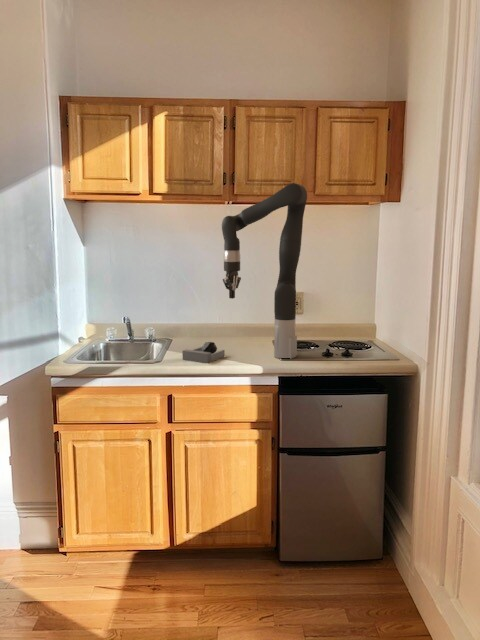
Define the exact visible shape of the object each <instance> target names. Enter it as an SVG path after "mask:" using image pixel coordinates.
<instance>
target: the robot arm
mask: <svg viewBox="0 0 480 640" xmlns="http://www.w3.org/2000/svg"><path fill="white" fill-rule="evenodd" d="M307 199H308V192H307V190H306V188H305V187H304V186H303V185H301V184H298V183H295V182H293V183H289V184H287V185H285V186H284V187H282V188H281V189H280V190H278V191H276V192H275V193H274V194H272V195H270V196H269V197H267V198H265V199H263V200H261V201H259V202H256V203H254V204H253V205H251V206H248V207H245V208H244V209H243V210H242V211H241V212H239V213H238V214H236V215H226V216H225V217H224V218H223V219H222V221H221V232H222V237H223V241H224V244H223V249H224V250H223V251H224V253H223V271H224V272H226V273H225V278H222V282H223V284H224V287H225V289H226V290H228V296H229V299H235V298H236V290H237V289H239V285H240V282H241V280H242V278H241V276H239V272H240V271H241V251H240V250H241V247H240V246H241V245H240V244H241V241H240V238H238V235H237V232H239V231H241V230H243V229H245V228H246V227H247V226H249V225H252V224H254V223H257V222H258V221H260V220H263V219H264V218H266V217H268V215H270V214H271V213H272V212H274V211H275V212H276V210H278V209H282V208H285V207H287V214H286V220H285V223H284V224H283V228H282V231H281V234H280V238H279V246H278V247H279V248H278V263H279V272H278V273H279V274H278V278H277V284H276V287H275V291H274V302H273V303H274V309H273V310H274V311H273V312H274V330H273V331H274V334H273V335H274V339H273V342H274V345H273V347H274V349H273V350H274V351H273V356H274V358H276V359H281V358H290V359H289V360H291V359H294V358H296V357H297V349H298V348H297V345H298V344H297V343H298V335H297V334H296V309H297V305H296V304H297V302H296V301H297V288H296V280H297V278H296V277H297V275H296V274H297V269H298V265H299V261H300V260H299V259H300V256H301V251H302V250H301V248H302V236H303V224H304V215H305V214H304V213H305V210H306V206H307V205H306V204H307Z"/></svg>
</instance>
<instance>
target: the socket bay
mask: <svg viewBox="0 0 480 640" xmlns="http://www.w3.org/2000/svg"><path fill="white" fill-rule="evenodd" d="M201 349H202V346H199V347H195V348H193V349H187V348H186V349H183V350H182V352H181V353H182V360H183V361H190V362H196V363H197V362H198V363H204V364H209V363H211V362H212V363H213V362H215V361H217V360H219V359H222V358H225V357H224V356H226V355H225V353H226V352H225V349H221V350H218V351H216V352H215V353H212V354H211V353H210V352H203V351H201Z"/></svg>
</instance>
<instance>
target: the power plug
mask: <svg viewBox="0 0 480 640" xmlns="http://www.w3.org/2000/svg"><path fill="white" fill-rule="evenodd" d="M201 347H202V349H201V351H203V352H210V353H211V354H212V353H215V352H218V351H217V350H218V347H217V346H216V343H215V342H214V341H213V342H212V341H207V342H206V341H205V342H204V344H203V345H202V346H201Z"/></svg>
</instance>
